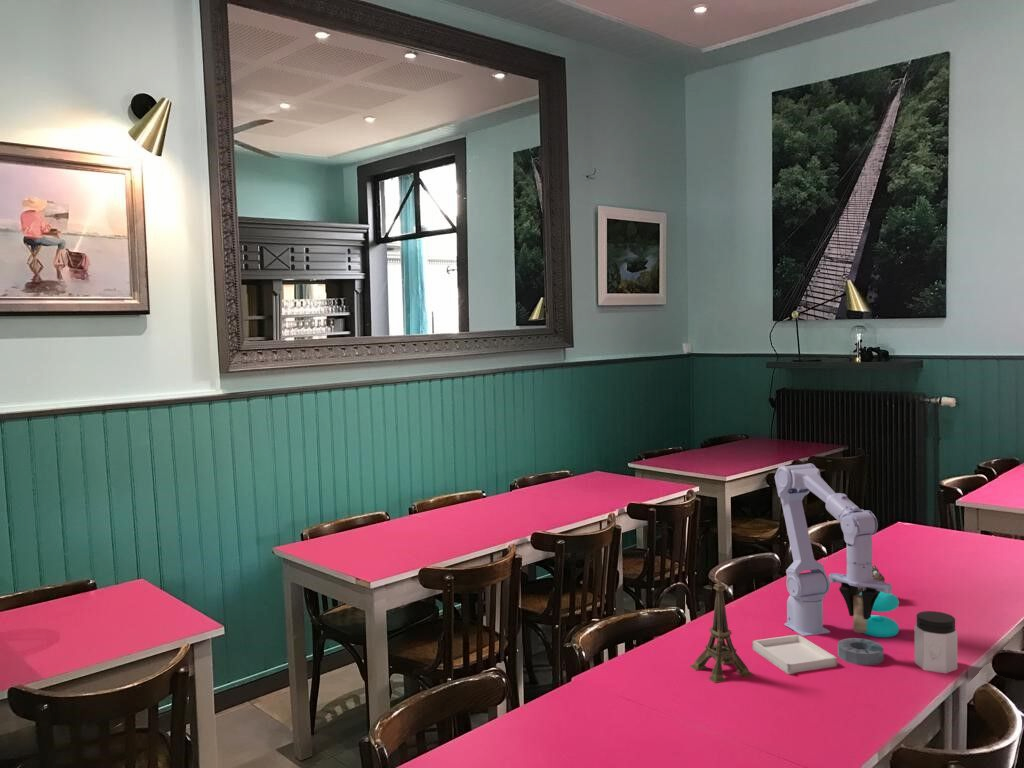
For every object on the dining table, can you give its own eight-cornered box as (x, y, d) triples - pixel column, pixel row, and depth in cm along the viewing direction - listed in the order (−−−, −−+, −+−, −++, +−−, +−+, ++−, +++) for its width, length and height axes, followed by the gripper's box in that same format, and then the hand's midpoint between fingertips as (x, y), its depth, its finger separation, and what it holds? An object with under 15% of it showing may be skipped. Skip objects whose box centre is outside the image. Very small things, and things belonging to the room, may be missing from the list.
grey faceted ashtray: (829, 652, 206) (829, 641, 206) (864, 647, 208) (864, 636, 208) (855, 668, 196) (855, 656, 196) (892, 662, 199) (892, 650, 198)
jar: (913, 669, 194) (913, 619, 194) (916, 657, 201) (915, 608, 201) (956, 676, 190) (956, 625, 189) (958, 663, 197) (957, 613, 196)
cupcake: (878, 594, 248) (878, 561, 248) (890, 605, 239) (889, 570, 238) (845, 594, 249) (845, 561, 249) (855, 605, 240) (855, 570, 239)
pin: (850, 629, 203) (850, 595, 202) (861, 627, 204) (861, 593, 203) (858, 633, 200) (858, 598, 199) (869, 632, 201) (869, 597, 200)
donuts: (853, 588, 224) (893, 589, 222) (854, 624, 224) (893, 626, 222) (861, 600, 214) (903, 601, 212) (861, 638, 215) (903, 640, 212)
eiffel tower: (689, 666, 201) (687, 565, 199) (726, 659, 205) (724, 559, 203) (715, 683, 191) (713, 576, 189) (753, 675, 195) (751, 570, 193)
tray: (752, 649, 210) (752, 640, 210) (798, 643, 213) (798, 634, 213) (788, 674, 194) (788, 664, 194) (837, 667, 197) (837, 657, 197)
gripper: (822, 559, 203) (823, 614, 204) (883, 570, 193) (883, 627, 194) (835, 553, 208) (836, 606, 209) (895, 563, 198) (895, 619, 198)
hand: (859, 616), depth 202 cm, fingers closed on pin, 3 cm apart
